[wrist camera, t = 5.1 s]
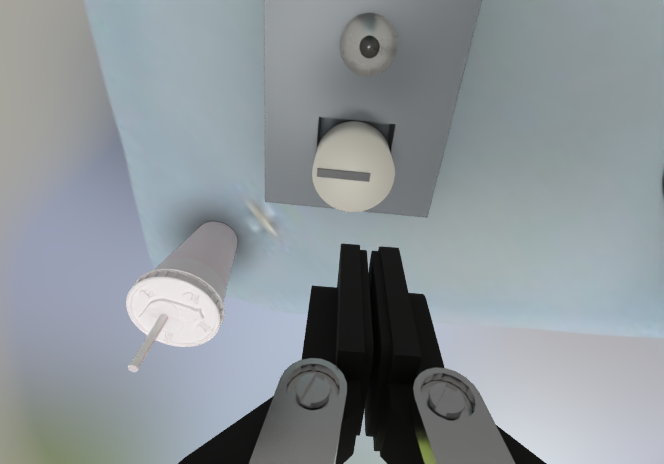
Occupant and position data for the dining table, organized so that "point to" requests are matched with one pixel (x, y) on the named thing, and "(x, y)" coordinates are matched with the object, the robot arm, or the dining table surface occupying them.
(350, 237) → the dining table surface
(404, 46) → the mount
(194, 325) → the smoothie
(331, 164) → the knob
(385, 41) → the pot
